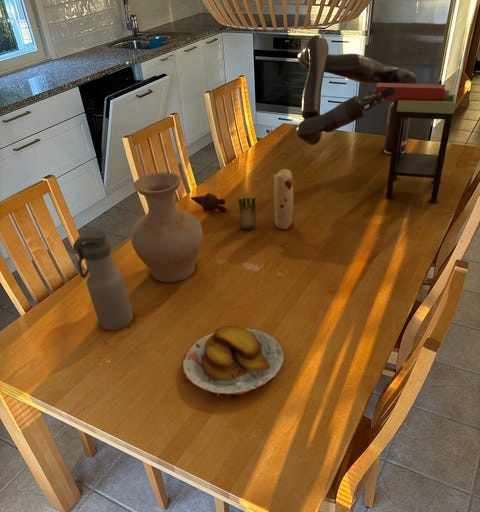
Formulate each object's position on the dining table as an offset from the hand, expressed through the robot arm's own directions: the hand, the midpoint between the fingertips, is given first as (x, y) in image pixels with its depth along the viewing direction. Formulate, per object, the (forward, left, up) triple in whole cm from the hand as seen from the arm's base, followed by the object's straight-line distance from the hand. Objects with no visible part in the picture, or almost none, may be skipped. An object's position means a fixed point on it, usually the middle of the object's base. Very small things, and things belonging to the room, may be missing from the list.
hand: (394, 87), depth 172 cm
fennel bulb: (+37, -42, -39) cm, 68 cm away
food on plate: (+104, -23, -39) cm, 114 cm away
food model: (+32, -30, -39) cm, 59 cm away
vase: (+68, -57, -39) cm, 97 cm away
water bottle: (+96, -62, -39) cm, 121 cm away
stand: (-5, +11, -38) cm, 40 cm away
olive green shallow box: (0, +11, -6) cm, 13 cm away
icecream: (+27, -61, -39) cm, 77 cm away
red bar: (0, +5, -4) cm, 6 cm away
